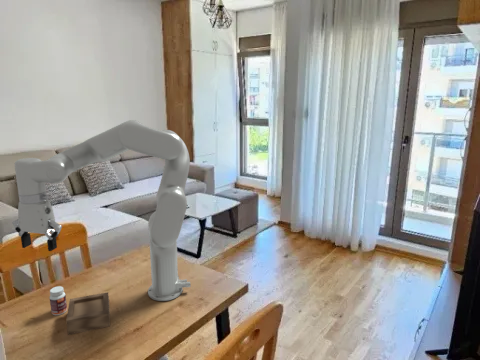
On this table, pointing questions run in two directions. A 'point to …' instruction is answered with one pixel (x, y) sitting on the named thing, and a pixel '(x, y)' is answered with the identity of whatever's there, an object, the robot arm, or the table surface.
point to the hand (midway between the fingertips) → (39, 247)
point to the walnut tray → (88, 313)
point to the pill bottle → (58, 301)
